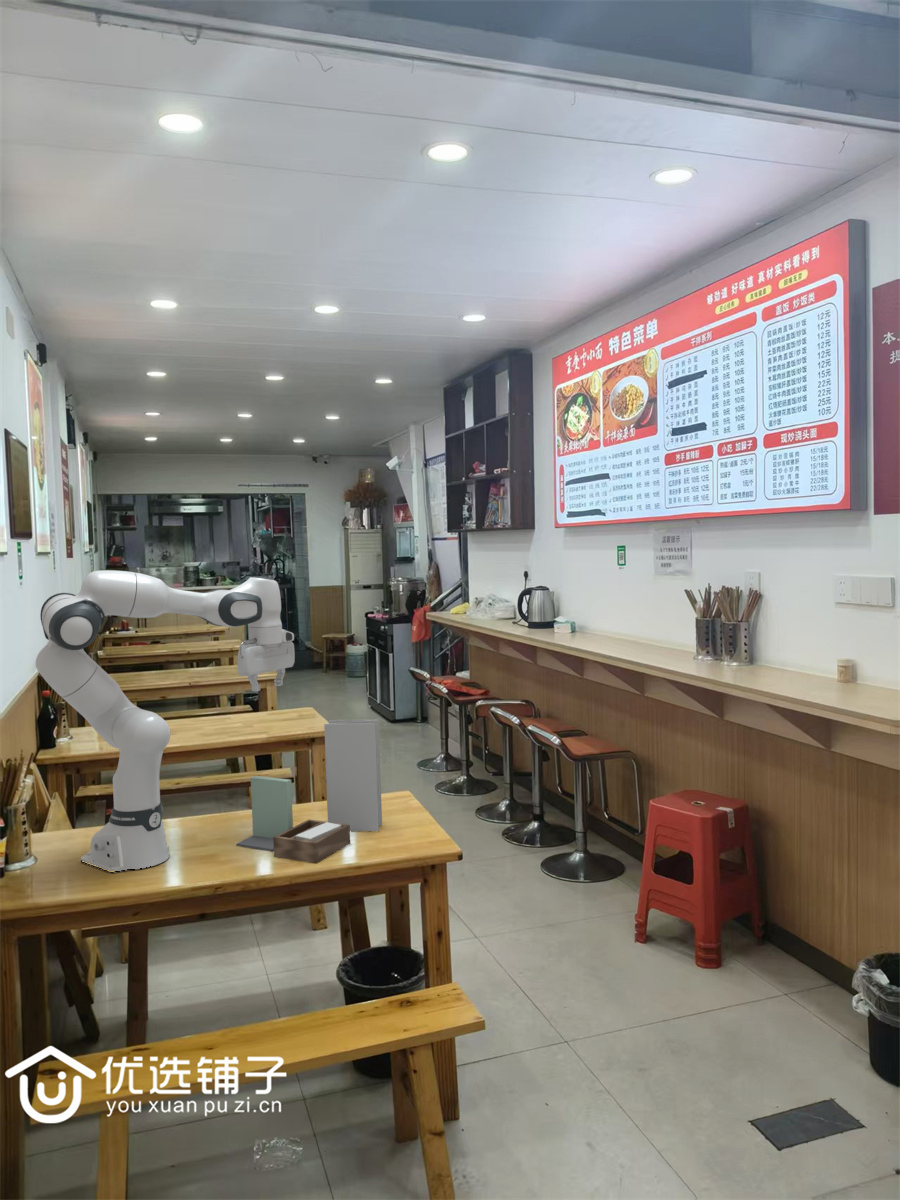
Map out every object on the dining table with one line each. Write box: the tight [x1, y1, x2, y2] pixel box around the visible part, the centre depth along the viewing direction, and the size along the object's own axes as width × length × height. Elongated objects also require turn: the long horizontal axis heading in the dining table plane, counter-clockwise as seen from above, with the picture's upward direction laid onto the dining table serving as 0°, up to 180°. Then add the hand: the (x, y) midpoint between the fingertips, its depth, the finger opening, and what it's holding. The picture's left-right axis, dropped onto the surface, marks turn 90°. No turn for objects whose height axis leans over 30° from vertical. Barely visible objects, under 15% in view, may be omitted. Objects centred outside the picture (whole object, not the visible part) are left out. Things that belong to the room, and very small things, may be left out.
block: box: [250, 775, 294, 838], centre depth 230 cm, size 2×12×16 cm, turn 64°
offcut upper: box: [296, 821, 341, 842], centre depth 220 cm, size 5×12×3 cm, turn 147°
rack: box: [273, 819, 351, 864], centre depth 221 cm, size 13×16×5 cm
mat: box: [236, 835, 274, 853], centre depth 231 cm, size 12×16×1 cm
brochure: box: [323, 719, 383, 832], centre depth 237 cm, size 14×6×30 cm, turn 84°
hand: (267, 688), depth 229 cm, fingers open, 8 cm apart
